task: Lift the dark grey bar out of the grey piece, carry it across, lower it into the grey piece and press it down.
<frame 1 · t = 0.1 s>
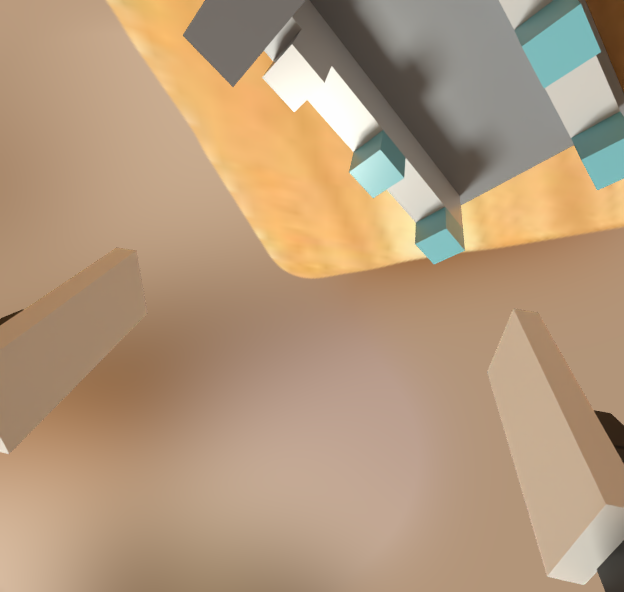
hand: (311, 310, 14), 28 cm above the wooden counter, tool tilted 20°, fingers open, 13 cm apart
grey piece: (418, 21, 30), on the wooden counter
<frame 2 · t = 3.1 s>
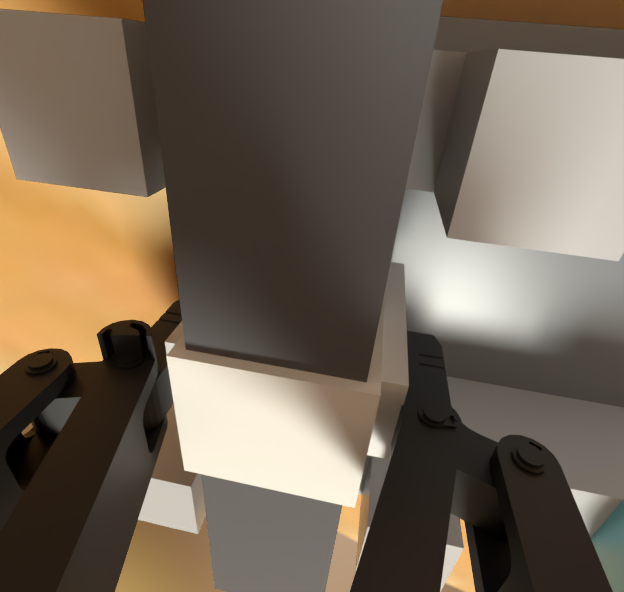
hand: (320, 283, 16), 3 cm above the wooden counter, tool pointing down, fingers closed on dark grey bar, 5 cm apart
grey piece: (537, 285, 17), on the wooden counter
dark grey bar: (304, 331, 13), point 6 cm above the wooden counter, touching grey piece, gripper
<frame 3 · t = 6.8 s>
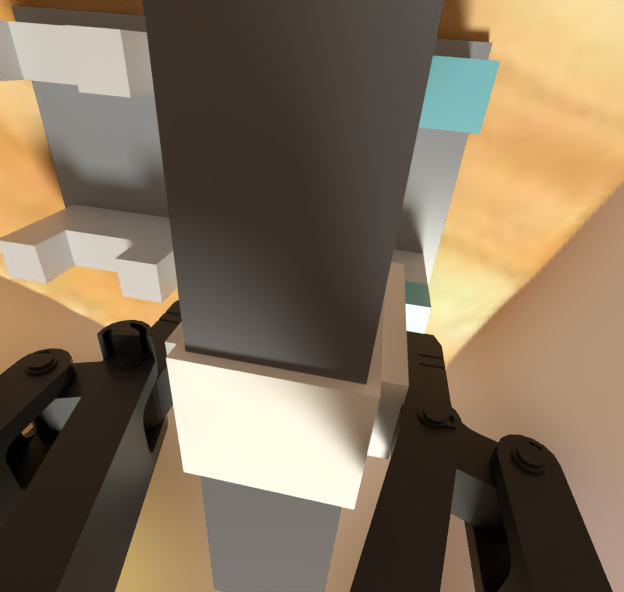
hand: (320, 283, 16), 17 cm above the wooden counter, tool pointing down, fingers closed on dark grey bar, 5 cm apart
grey piece: (242, 163, 31), on the wooden counter
dark grey bar: (304, 332, 13), point 20 cm above the wooden counter, touching gripper
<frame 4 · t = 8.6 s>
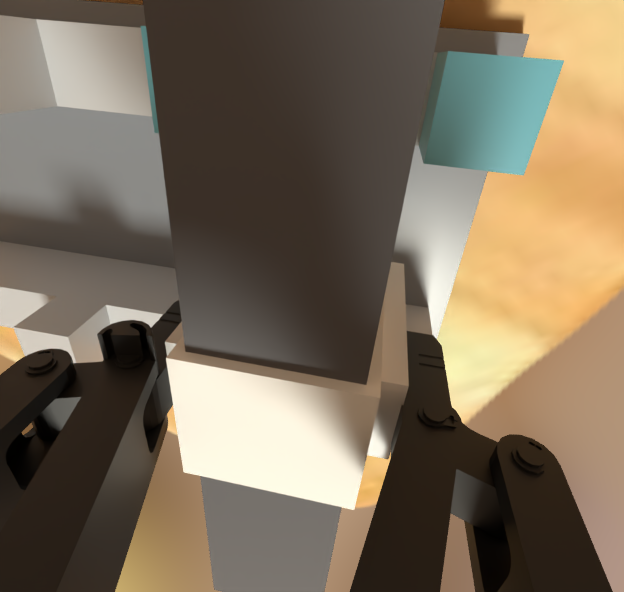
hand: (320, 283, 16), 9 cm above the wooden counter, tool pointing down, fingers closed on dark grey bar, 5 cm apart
grey piece: (195, 191, 24), on the wooden counter
dark grey bar: (304, 333, 13), point 12 cm above the wooden counter, touching gripper
when the fingers open (4 cm above the wooden counter, at t = 10.4 s): dark grey bar drops 1 cm, resting on grey piece.
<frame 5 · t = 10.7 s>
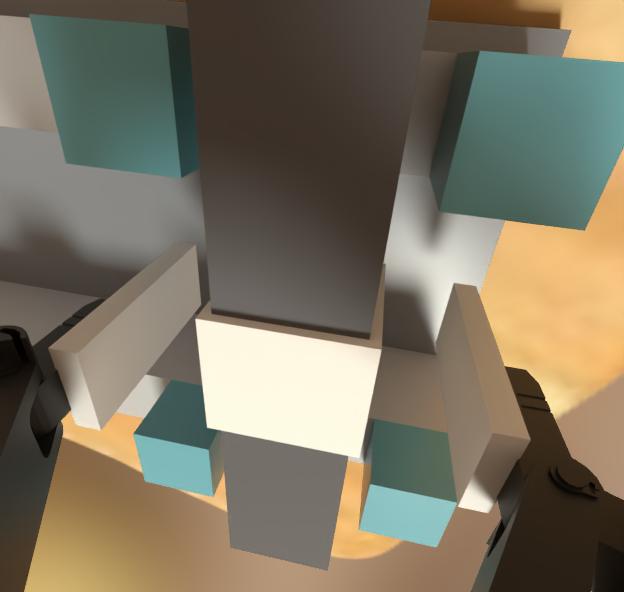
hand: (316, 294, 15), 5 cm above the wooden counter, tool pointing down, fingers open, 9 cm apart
grey piece: (161, 217, 20), on the wooden counter
dark grey bar: (312, 308, 14), point 6 cm above the wooden counter, touching grey piece
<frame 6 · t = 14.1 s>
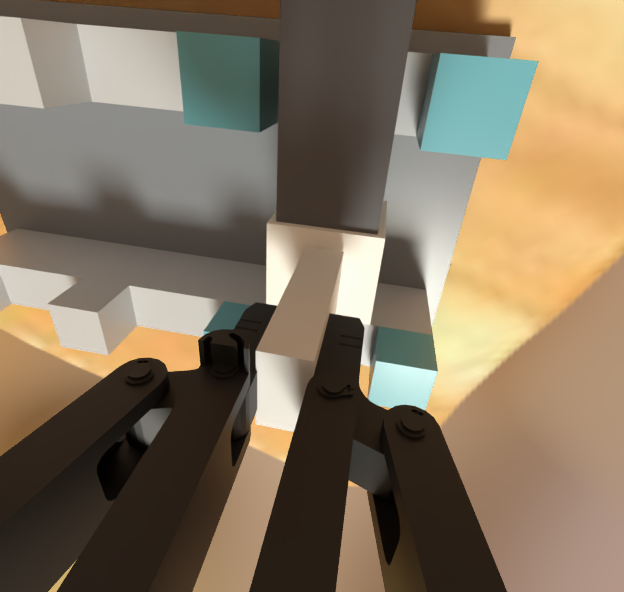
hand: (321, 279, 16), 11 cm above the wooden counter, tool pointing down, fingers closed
grey piece: (210, 182, 26), on the wooden counter
dark grey bar: (334, 236, 20), point 6 cm above the wooden counter, touching grey piece, gripper
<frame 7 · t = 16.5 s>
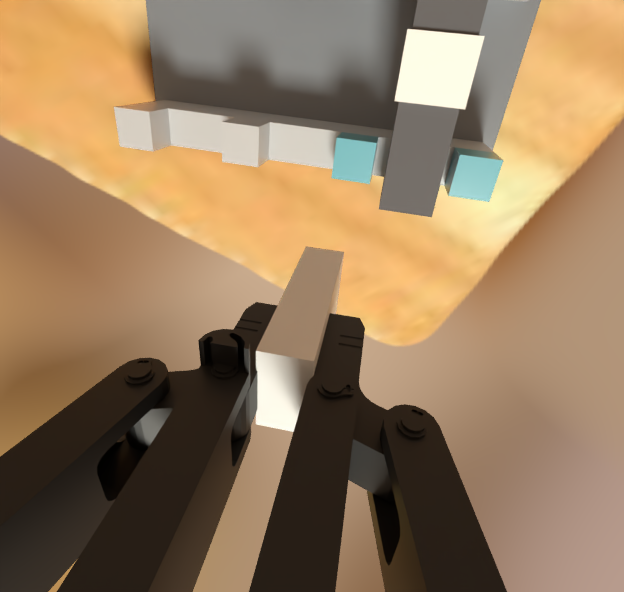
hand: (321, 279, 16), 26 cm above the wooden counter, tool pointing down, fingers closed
grey piece: (324, 57, 35), on the wooden counter
dark grey bar: (432, 69, 28), point 6 cm above the wooden counter, touching grey piece
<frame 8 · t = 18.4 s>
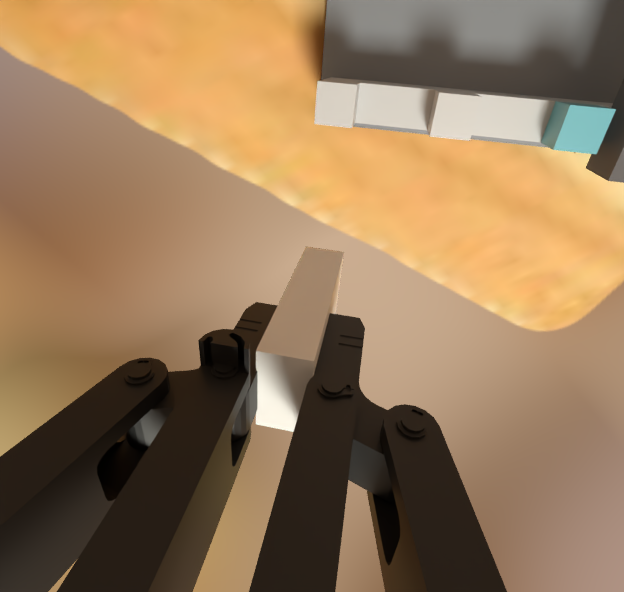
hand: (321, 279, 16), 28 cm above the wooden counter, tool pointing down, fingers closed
grey piece: (516, 24, 33), on the wooden counter
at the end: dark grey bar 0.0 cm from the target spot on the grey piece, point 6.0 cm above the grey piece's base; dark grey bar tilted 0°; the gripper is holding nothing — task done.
